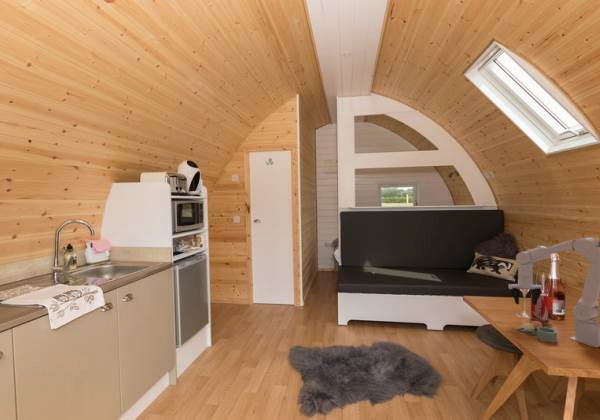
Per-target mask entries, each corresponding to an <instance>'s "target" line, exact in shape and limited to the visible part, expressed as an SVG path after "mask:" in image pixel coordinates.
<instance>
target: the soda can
mask: <svg viewBox="0 0 600 420" xmlns="http://www.w3.org/2000/svg"><path fill="white" fill-rule="evenodd" d="M530 317H531V318H532V319H533V320H534V321H539V322H547V321H548V319H549V297H548V294H547V293H544V292H542V293H541V295H540V296H539V298H538V300H537V303H536V305H534V304H532V294H531V295H530Z"/></svg>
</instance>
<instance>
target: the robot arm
mask: <svg viewBox="0 0 600 420" xmlns="http://www.w3.org/2000/svg"><path fill="white" fill-rule="evenodd" d="M567 250H569V251H575V252H576V253H578V254H580V255H582V256H583V257H584V258H586V259H587V260H588V262H589V267H588V269H587V275H586V278H585V281H584V285H583V289H582V293H581V296H580V298H579V300H578V301H577V304H576V305H575V306H574V307H573V308H572V311H571V314H572V315H573V317H574V336H571V337H569V340H573V341H575V342H578V343H580V344H584V345H588V346H591V347H593V348H600V322H598V319H597V317H598V316H600V308H599V306H600V303H599V301H598V299H599V295H600V240H599V239H597V238H596V237H591V236H589V237H585V238H576V239H571V240H566V241H563V242H560V243H557V244H555V245H554V244H553V245H550V246H544V245H536V246H535V247H534V248H532V249H531V248H530V249H529V248H527V249H526V251H520V252H518V253H517V254H516V256H515V259H516V261H517V262H518V266H517V267H518V281H517V282H518V283H513V284H512V283H511V284H510V283H508V285H507V286H508V289H509V292H510V293H511V294H512V296H513V300H514V304H516V305H519V304H520V293H521V291H520V290H530V291H531V295H532V304H534V305H536V303H537V300H538V298H539V296H540V295H541V293H543V291H544V285H542V284H534V283H533V281H534V280H533V279H534V277H533V276H534V265H533V264H534V262H538V261H541V260H545V259H549V258H550V257H551V255H552V254H555V253H556V254H557V253H560V252H563V251H567Z"/></svg>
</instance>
